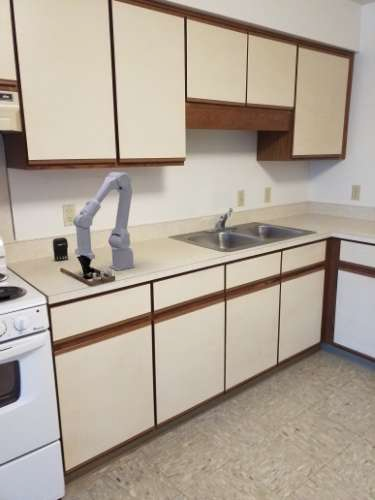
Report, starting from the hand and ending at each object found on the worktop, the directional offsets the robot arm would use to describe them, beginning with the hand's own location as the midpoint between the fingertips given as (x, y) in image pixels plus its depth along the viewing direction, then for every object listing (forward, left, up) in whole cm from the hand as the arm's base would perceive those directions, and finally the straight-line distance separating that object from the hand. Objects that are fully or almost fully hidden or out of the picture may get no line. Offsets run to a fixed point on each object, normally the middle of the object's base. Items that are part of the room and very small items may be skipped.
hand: (85, 271), depth 173 cm
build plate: (0, +3, -2) cm, 4 cm away
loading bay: (0, 0, -2) cm, 2 cm away
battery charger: (-3, -32, -2) cm, 32 cm away
